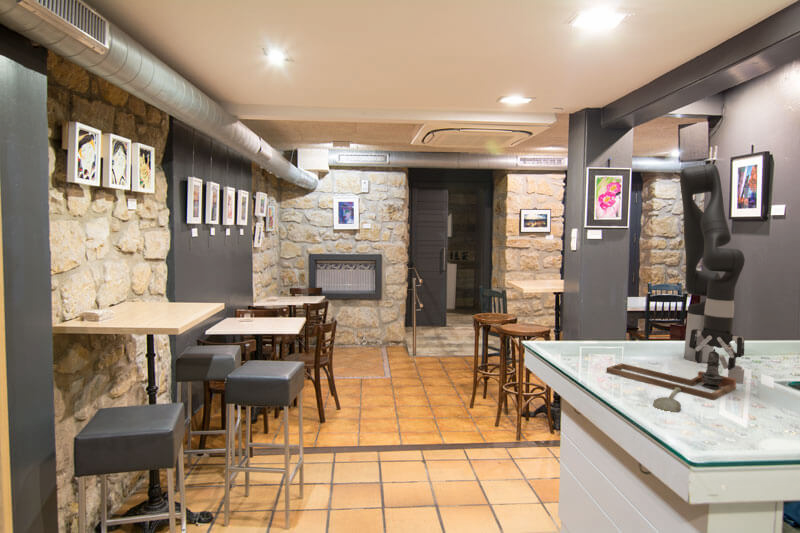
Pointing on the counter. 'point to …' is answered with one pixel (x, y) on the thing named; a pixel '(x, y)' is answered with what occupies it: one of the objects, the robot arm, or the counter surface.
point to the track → (726, 382)
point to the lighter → (733, 371)
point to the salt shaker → (712, 372)
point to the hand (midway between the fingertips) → (714, 366)
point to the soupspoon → (668, 402)
